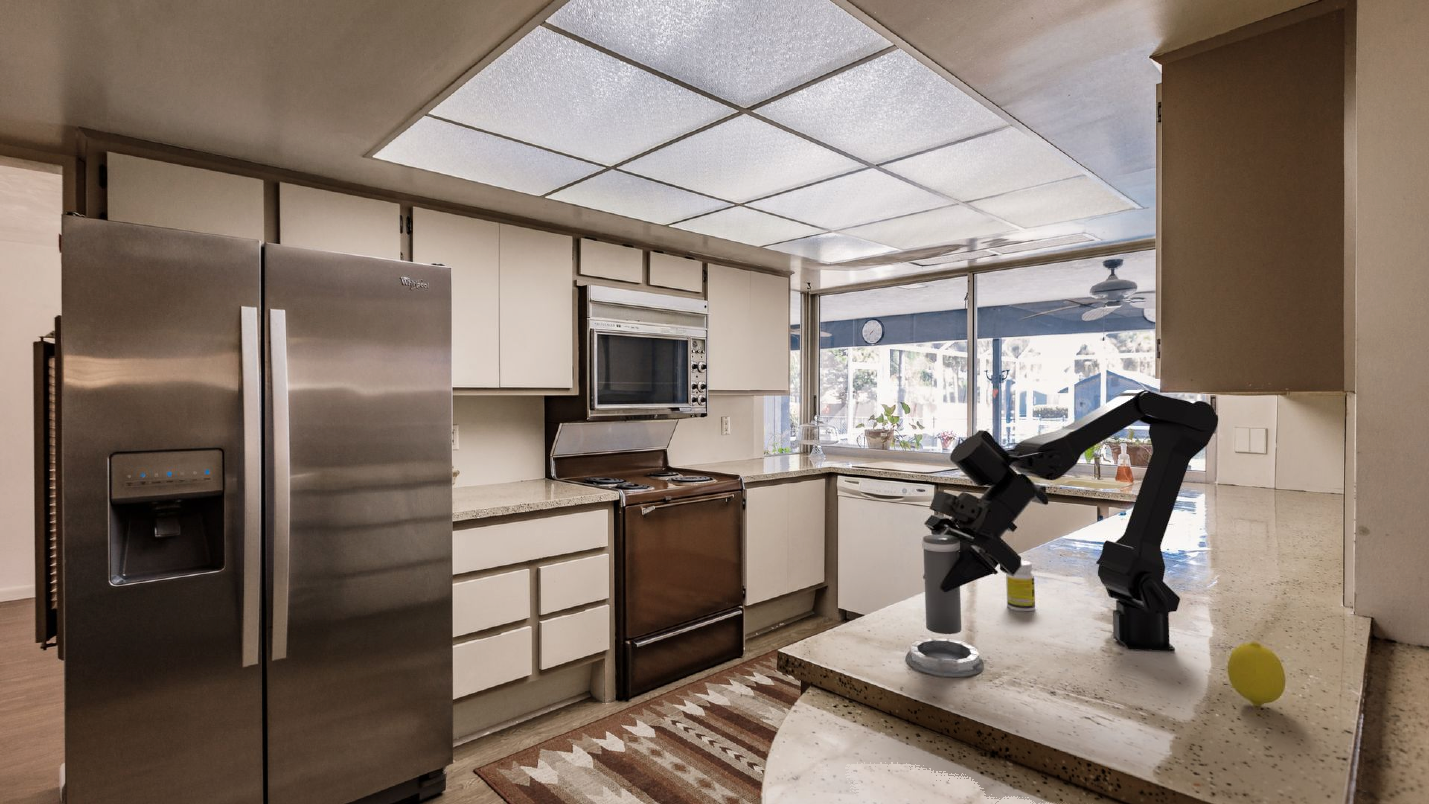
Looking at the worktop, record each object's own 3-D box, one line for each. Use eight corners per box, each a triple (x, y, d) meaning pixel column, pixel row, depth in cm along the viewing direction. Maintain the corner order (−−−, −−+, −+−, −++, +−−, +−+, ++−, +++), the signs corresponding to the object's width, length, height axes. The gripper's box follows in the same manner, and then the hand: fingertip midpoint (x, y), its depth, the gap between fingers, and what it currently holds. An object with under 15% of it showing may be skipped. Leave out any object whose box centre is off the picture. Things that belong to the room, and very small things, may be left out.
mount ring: (976, 649, 102) (976, 638, 102) (990, 679, 91) (990, 667, 91) (903, 646, 104) (903, 635, 104) (909, 675, 94) (908, 663, 94)
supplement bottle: (1038, 612, 118) (1037, 566, 118) (1010, 611, 119) (1009, 565, 119) (1031, 604, 123) (1029, 559, 123) (1004, 603, 124) (1002, 559, 123)
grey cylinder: (966, 625, 99) (963, 536, 99) (959, 636, 94) (955, 543, 94) (929, 619, 102) (926, 533, 101) (920, 631, 97) (917, 540, 97)
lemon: (1217, 697, 84) (1215, 635, 84) (1257, 694, 85) (1255, 632, 84) (1256, 718, 79) (1254, 652, 78) (1298, 715, 79) (1297, 649, 79)
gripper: (933, 465, 107) (872, 536, 106) (998, 478, 89) (924, 565, 88) (980, 509, 109) (919, 581, 107) (1053, 532, 90) (981, 619, 89)
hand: (933, 585), depth 98 cm, fingers closed on grey cylinder, 5 cm apart
